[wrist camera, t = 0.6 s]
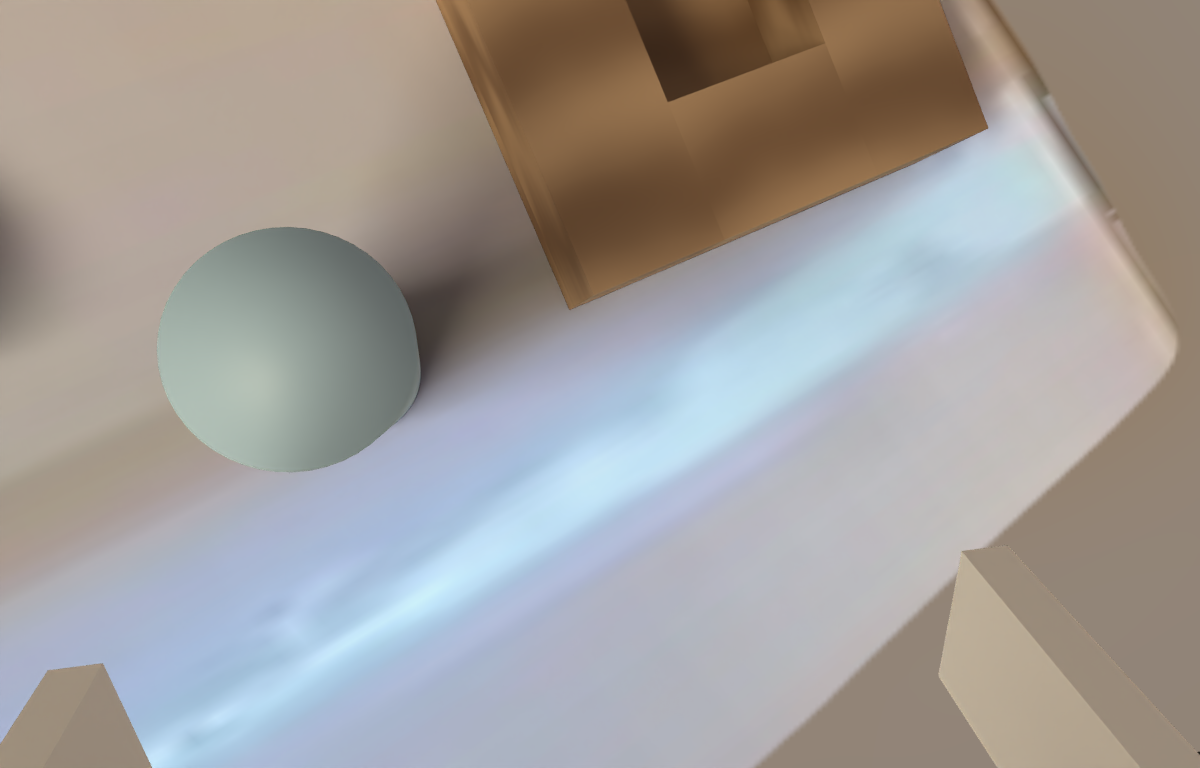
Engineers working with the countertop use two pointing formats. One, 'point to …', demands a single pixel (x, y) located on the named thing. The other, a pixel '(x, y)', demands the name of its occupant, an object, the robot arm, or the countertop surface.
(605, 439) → the countertop surface
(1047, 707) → the robot arm
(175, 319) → the peg
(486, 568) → the countertop surface
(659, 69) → the socket block
